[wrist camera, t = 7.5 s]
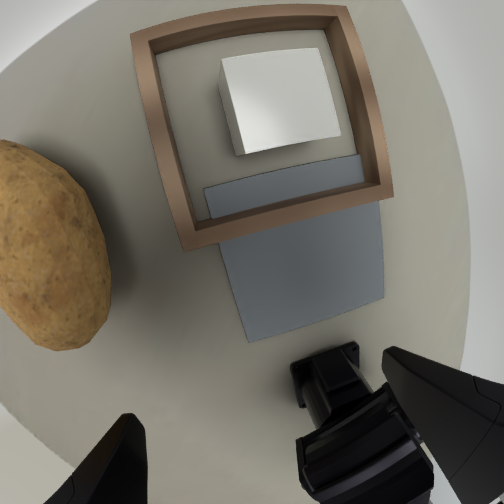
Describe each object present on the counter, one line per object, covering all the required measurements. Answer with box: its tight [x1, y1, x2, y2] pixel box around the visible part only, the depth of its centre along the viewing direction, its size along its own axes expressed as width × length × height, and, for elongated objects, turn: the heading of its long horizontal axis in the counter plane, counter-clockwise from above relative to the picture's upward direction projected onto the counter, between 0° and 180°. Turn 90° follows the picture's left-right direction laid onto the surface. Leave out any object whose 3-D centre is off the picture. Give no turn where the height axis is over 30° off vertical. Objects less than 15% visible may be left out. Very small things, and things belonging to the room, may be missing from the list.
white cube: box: [218, 48, 341, 156], centre depth 14 cm, size 5×5×5 cm
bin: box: [130, 4, 394, 252], centre depth 15 cm, size 14×14×2 cm
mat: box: [204, 154, 384, 343], centre depth 20 cm, size 12×12×1 cm
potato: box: [0, 140, 111, 351], centre depth 13 cm, size 10×14×8 cm
